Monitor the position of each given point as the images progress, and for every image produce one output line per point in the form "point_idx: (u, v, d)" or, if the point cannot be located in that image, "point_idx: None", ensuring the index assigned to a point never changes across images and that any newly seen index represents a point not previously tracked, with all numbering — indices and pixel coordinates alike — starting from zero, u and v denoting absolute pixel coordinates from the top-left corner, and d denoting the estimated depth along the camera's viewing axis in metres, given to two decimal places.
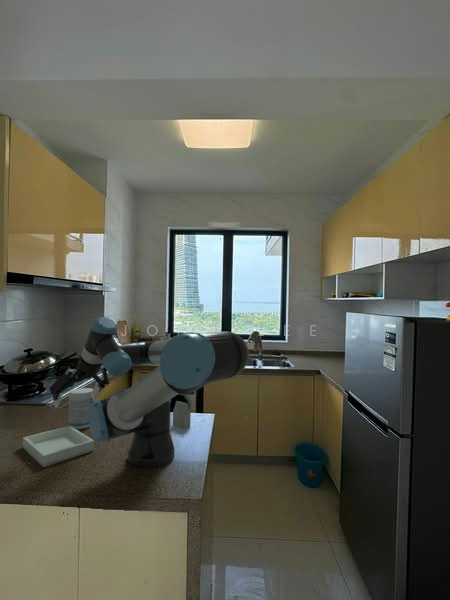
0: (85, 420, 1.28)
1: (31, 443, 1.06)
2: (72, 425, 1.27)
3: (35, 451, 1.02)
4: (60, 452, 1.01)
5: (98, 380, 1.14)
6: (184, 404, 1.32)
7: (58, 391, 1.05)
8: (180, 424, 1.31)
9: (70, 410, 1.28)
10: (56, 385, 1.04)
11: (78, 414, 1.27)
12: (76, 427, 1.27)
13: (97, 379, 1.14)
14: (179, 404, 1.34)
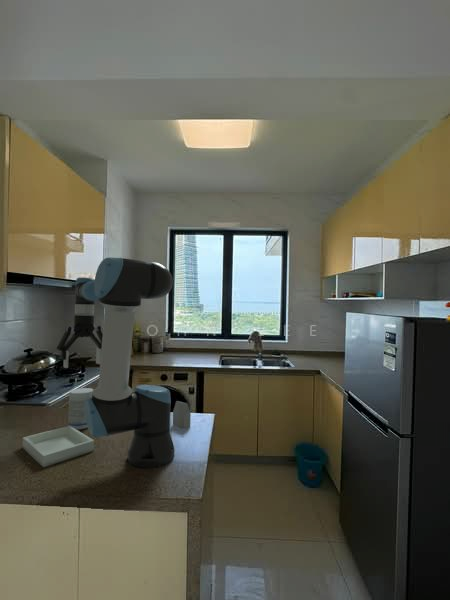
0: (85, 420, 1.28)
1: (31, 443, 1.06)
2: (72, 425, 1.27)
3: (35, 451, 1.02)
4: (60, 452, 1.01)
5: (96, 339, 1.35)
6: (184, 404, 1.32)
7: (64, 348, 1.26)
8: (180, 424, 1.31)
9: (70, 410, 1.28)
10: (61, 342, 1.25)
11: (78, 414, 1.27)
12: (76, 427, 1.27)
13: (95, 338, 1.35)
14: (179, 404, 1.34)
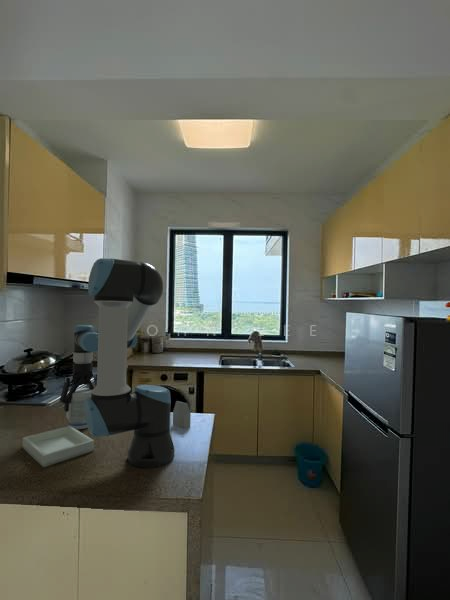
0: (85, 420, 1.28)
1: (31, 443, 1.06)
2: (72, 425, 1.27)
3: (35, 451, 1.02)
4: (60, 452, 1.01)
5: (93, 388, 1.34)
6: (184, 404, 1.32)
7: (67, 400, 1.26)
8: (180, 424, 1.31)
9: None
10: (62, 394, 1.26)
11: (78, 414, 1.27)
12: (76, 427, 1.27)
13: (92, 386, 1.34)
14: (179, 404, 1.34)
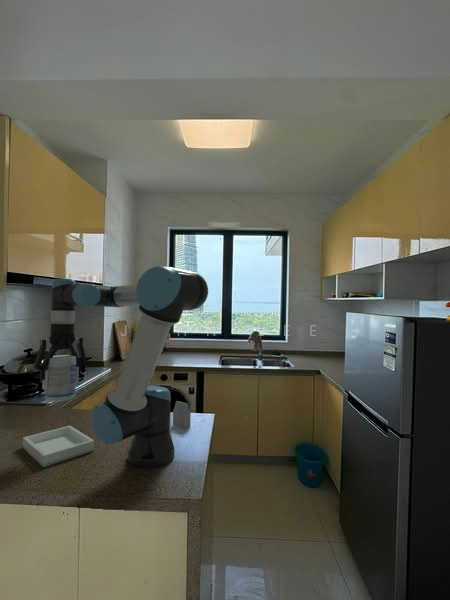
0: (64, 391, 1.07)
1: (31, 443, 1.06)
2: (49, 396, 1.06)
3: (35, 451, 1.02)
4: (60, 452, 1.01)
5: (75, 354, 1.13)
6: (184, 404, 1.32)
7: (42, 366, 1.05)
8: (180, 424, 1.31)
9: None
10: (37, 359, 1.05)
11: (56, 383, 1.06)
12: (54, 399, 1.06)
13: (74, 352, 1.13)
14: (179, 404, 1.34)
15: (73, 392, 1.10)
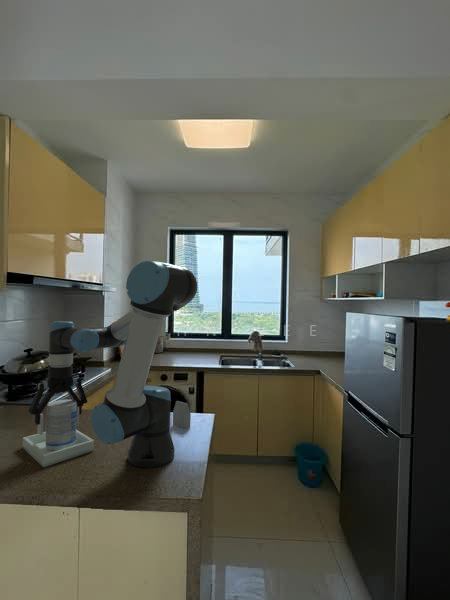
0: (65, 439, 1.07)
1: (31, 443, 1.06)
2: (50, 445, 1.06)
3: (35, 451, 1.02)
4: (60, 452, 1.01)
5: (74, 395, 1.13)
6: (184, 404, 1.32)
7: (37, 411, 1.04)
8: (180, 424, 1.31)
9: (47, 427, 1.07)
10: (33, 403, 1.04)
11: (56, 432, 1.06)
12: (54, 447, 1.05)
13: (73, 394, 1.12)
14: (179, 404, 1.34)
15: (74, 439, 1.10)
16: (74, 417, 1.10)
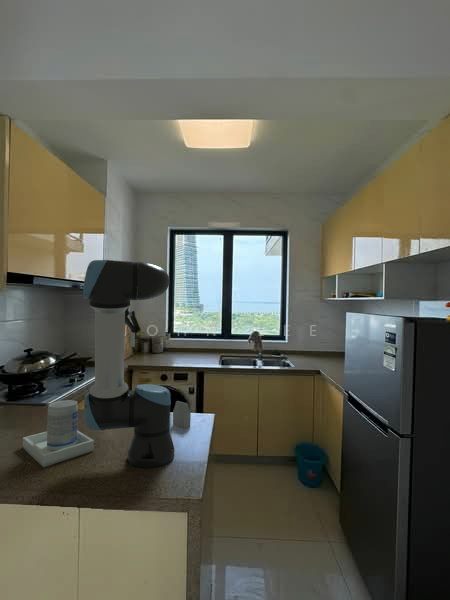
0: (66, 440, 1.07)
1: (31, 443, 1.06)
2: (51, 445, 1.06)
3: (35, 451, 1.02)
4: (60, 452, 1.01)
5: (131, 324, 1.44)
6: (184, 404, 1.32)
7: None
8: (180, 424, 1.31)
9: (48, 427, 1.07)
10: None
11: (58, 432, 1.06)
12: (55, 448, 1.06)
13: (130, 322, 1.43)
14: (179, 404, 1.34)
15: (75, 439, 1.10)
16: (75, 417, 1.10)
